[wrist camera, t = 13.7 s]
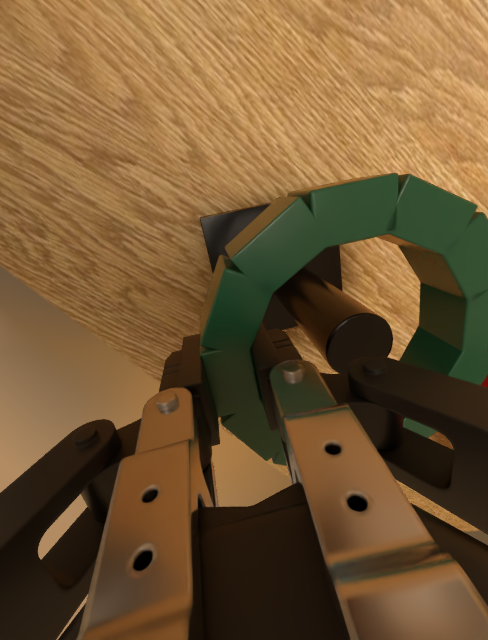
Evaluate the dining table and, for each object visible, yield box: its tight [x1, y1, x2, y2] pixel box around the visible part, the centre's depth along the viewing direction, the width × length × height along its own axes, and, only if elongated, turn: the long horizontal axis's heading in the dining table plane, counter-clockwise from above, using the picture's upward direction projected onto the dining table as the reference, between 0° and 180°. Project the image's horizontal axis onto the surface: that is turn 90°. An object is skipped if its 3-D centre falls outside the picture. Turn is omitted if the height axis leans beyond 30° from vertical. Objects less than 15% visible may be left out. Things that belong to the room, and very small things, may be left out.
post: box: [200, 202, 393, 374], centre depth 17 cm, size 9×9×13 cm
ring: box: [200, 173, 488, 466], centre depth 11 cm, size 10×10×2 cm
